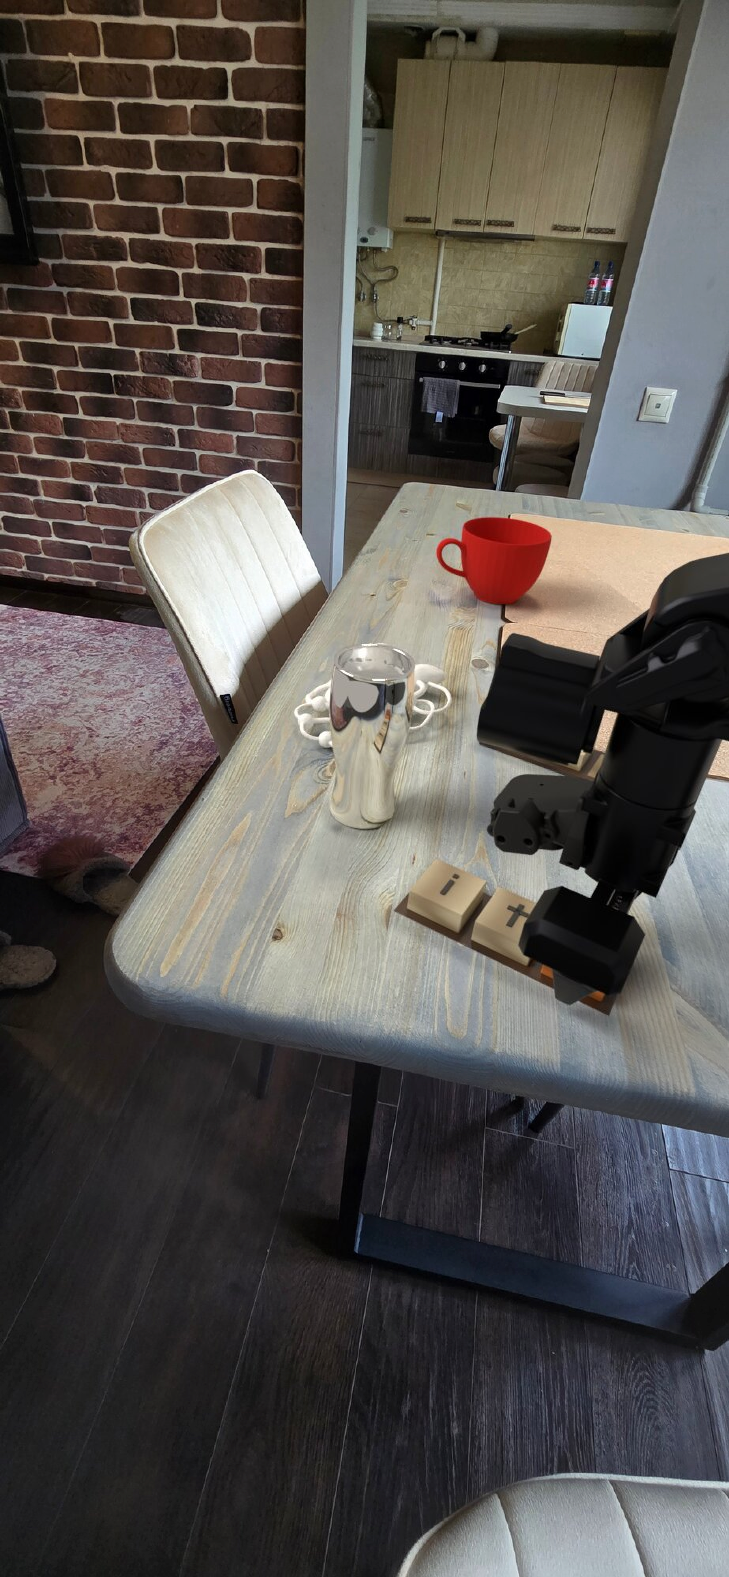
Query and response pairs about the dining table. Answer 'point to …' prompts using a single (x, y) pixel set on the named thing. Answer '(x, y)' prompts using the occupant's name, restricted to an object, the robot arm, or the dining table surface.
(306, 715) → the tangled rod sculpture
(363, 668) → the beer glass
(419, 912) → the front word
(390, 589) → the dining table surface
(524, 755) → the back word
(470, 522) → the ceramic cup
